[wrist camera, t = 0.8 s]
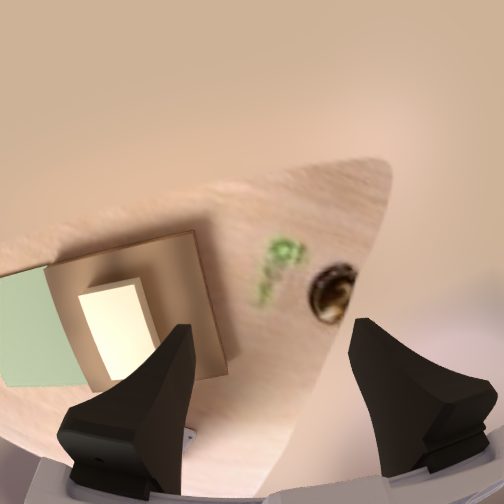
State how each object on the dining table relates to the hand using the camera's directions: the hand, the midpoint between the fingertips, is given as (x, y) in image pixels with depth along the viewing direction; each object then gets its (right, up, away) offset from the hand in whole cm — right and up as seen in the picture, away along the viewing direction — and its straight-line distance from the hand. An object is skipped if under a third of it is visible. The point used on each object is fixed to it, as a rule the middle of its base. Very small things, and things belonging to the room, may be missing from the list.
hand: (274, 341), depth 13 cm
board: (-11, -2, +13) cm, 18 cm away
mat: (-25, -5, +12) cm, 29 cm away
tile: (-11, -3, +10) cm, 16 cm away
